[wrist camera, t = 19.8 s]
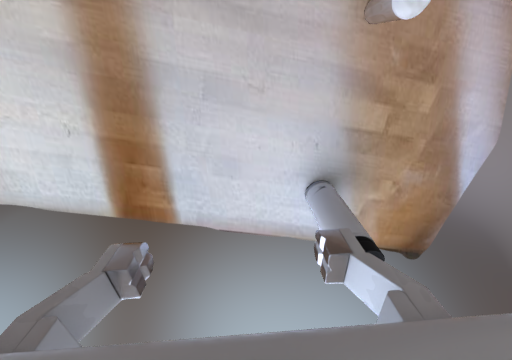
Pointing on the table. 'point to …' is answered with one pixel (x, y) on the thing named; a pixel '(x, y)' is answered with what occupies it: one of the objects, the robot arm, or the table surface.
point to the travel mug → (337, 214)
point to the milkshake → (393, 10)
